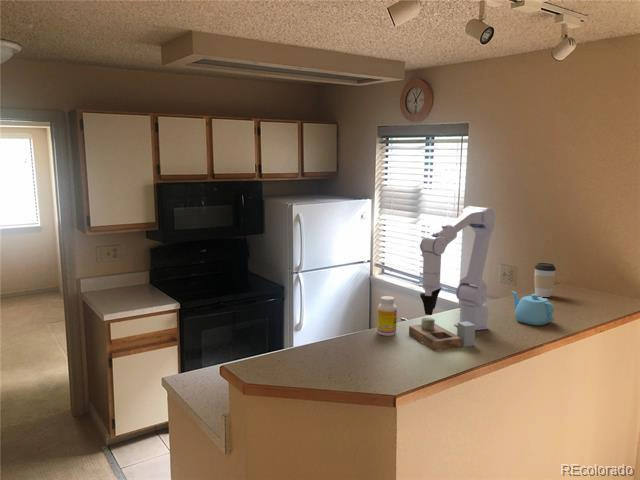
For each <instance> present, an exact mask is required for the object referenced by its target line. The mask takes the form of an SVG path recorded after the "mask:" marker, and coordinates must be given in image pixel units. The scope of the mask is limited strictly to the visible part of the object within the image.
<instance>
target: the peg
mask: <svg viewBox="0 0 640 480" xmlns="http://www.w3.org/2000/svg"><path fill="white" fill-rule="evenodd" d="M457 323H458V326H456V327H457V333H456V335H457V336H459V337H461V338H462V346H461V347H471V346H475V339H476V338H475V336H476V330H475V324H472V323H470V322H468V321H466V322H460V321H458V322H457Z"/></svg>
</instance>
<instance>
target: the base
mask: <svg viewBox="0 0 640 480" xmlns="http://www.w3.org/2000/svg"><path fill="white" fill-rule="evenodd" d="M409 334H410V335H409ZM408 335H409V336H411V335H412V336H411V337H413V338H414V337H415V338H414V339H416V340H417V339H418V341H419V342H421V343H422V342H423V343H422V344H424V345H425V344H426V345H425V346H427V347H428V348H430V347H431V348H430V349H432V350H433V349H434V350H433V351H441V350H440V349H443V350H449V349H448V348H450V349H456V348H462V347H463V346H462V338H461V337H459V336H457V334H455V333H453V332H451V331H450V330H448V329H445V328H444V327H442V326H441V325H438V324H436V323H435V319H434V318H432V317H423V318H421V324H415V325H409V326H408Z"/></svg>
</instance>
